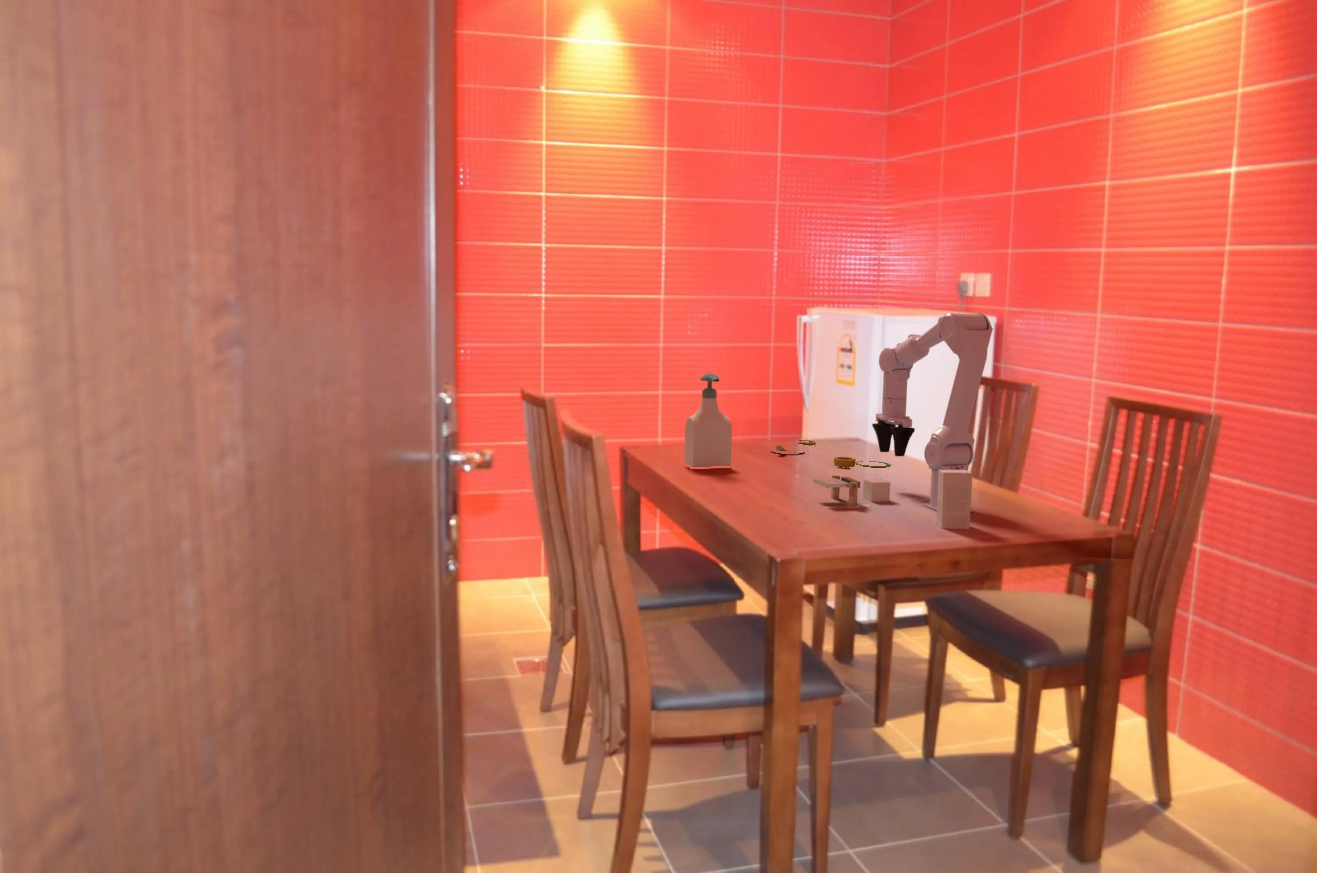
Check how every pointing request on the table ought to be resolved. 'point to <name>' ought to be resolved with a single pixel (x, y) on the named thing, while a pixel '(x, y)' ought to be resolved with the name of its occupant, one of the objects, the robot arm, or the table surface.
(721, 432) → the soap bottle
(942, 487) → the skincare box
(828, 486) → the trapdoor
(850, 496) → the frame
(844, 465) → the tableware set
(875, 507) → the table surface
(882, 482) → the beige block
